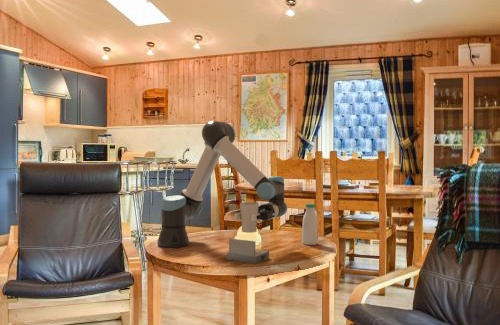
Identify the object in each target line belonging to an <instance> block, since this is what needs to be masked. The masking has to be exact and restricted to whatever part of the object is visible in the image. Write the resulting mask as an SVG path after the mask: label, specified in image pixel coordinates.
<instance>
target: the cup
mask: <svg viewBox="0 0 500 325" xmlns="http://www.w3.org/2000/svg"><path fill="white" fill-rule="evenodd" d="M259 206H260V204H259V202H252V201H251V202H247V201H246V202H239V208H240V211H241V219H240V221H241V232H242V233H247V234H248V233H249V234H250V233H257V232H258V231H257V225H258V220H257V221H253V222H252V221H251V215H253V214H257V213H258V207H259Z"/></svg>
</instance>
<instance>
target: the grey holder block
mask: <svg viewBox="0 0 500 325" xmlns="http://www.w3.org/2000/svg"><path fill="white" fill-rule="evenodd" d="M256 242H257V241H255V240H248V239H237V238H229V239H228V252H226V261H231V260H233V261H232V262H239V263H248V264H255V265H256V264H259V263H262V262H264V261H266V260H268V259H270V251H269V250H261V249H256Z"/></svg>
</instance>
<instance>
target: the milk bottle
mask: <svg viewBox="0 0 500 325" xmlns="http://www.w3.org/2000/svg"><path fill="white" fill-rule="evenodd" d="M315 209H316V204H315V203H306V204H305V213H304V215H303V218H302V231H301V236H302V237H301V238H302V239H301V243H302V245H307V246H315V245H318V243H319V220H318V216H317V214H316V211H315Z"/></svg>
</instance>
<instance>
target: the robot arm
mask: <svg viewBox="0 0 500 325" xmlns="http://www.w3.org/2000/svg"><path fill="white" fill-rule="evenodd" d="M201 137H202V139H203V141H204V150H203V151H202V153H201V156H200V159H199V160H198V163H197V164H196V167H195V170H194V171H193V173H192V176H191V179H190V180H189V182H188V185H187V187H186V188H183V189H182V190H181V193H180V194H179V195H176V194H175V195H169V196H165V197H163V198H162V200H161V206H160V207H161V227H160V228H161V229H160V233H159V236H158V239H157V246H159V247H161V248H182V247H187V246H189V245H190V239H189V235H188V233H187V229H186V226H187V225H186V223H187V222H186V221H188V220H192V219H195V218H196V217H198V216H200V214H201V212H202V209H203V204H202V203H203V201H204V198H203V193H204V192H205V189H206V188H207V186H208V183H209V182H210V179H211V176H212V174H213V172H214V170H215V168H216V166H217V164H218V161H219V160H220V157H222V158H223V159H224V160H226V162H227V163H228V164H229V165H231V167H233V168H234V170H236V172H237V173H239V174H240V176H241V177H242V178H244V180H245V181H247V183H249V184H250V186H251V187H253V189H255V190H256V194H257V196H258V197H259V198H260V199H261V200H268V202H266V203H262V204H259V206H258V213H257V214H253V215H251V221H252V222H253V221H257V222H258V221H260V220H261V221H265V222H266V221H271V220H272V219H276V218H281V217H282V216H284V215H285V214H287V212H288V204H287V203H286V202H285V178H284V176H275V175H274V176H269V177H267V176H266V175H265V174H264V173H263V172H262V171H261V170H260V169H259V168H258V167H257V166H256V165H255V164H254V163H252V161H251V160H250V159H249V158H248V157H247V156H246V155H245V154H244V153H243V152H241V150H240V149H239V148H238V147H236V145H234V144H233V143H234V142H235V139H236V130H235V128H234V126H233V125H232V124H230V123H228V122H225V121H217V120H210V121H208V122H207V123H205V124H204V125H203V126H202V131H201ZM238 220H241V210H238V211H237V213H234V221H238Z"/></svg>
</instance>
